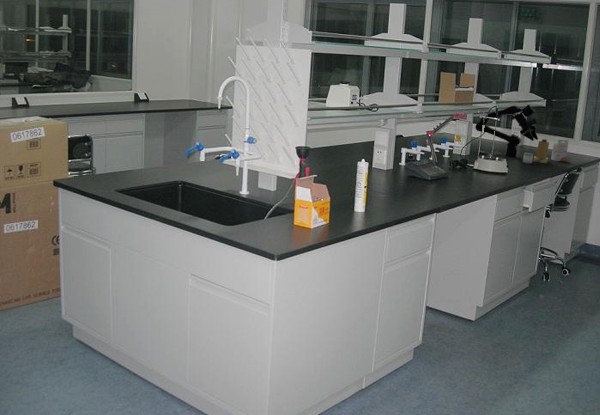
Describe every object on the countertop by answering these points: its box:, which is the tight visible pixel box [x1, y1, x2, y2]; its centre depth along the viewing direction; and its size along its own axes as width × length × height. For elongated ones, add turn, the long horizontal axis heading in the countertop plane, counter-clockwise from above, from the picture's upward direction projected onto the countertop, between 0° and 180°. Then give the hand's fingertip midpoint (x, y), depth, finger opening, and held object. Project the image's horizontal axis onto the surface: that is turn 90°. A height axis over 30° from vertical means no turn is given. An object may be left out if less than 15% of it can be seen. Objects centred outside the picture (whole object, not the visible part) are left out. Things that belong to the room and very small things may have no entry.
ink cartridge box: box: [550, 139, 569, 162], centre depth 480 cm, size 9×5×15 cm, turn 105°
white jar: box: [522, 152, 535, 164], centre depth 460 cm, size 6×6×6 cm
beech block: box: [532, 155, 549, 164], centre depth 470 cm, size 9×9×3 cm
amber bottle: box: [535, 138, 550, 159], centre depth 468 cm, size 5×5×12 cm
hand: (535, 140), depth 470 cm, fingers open, 9 cm apart
